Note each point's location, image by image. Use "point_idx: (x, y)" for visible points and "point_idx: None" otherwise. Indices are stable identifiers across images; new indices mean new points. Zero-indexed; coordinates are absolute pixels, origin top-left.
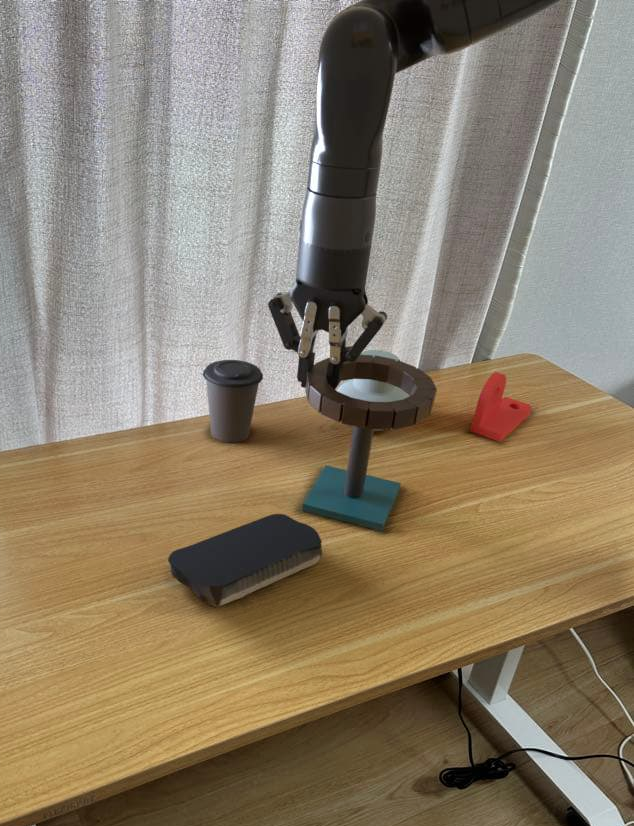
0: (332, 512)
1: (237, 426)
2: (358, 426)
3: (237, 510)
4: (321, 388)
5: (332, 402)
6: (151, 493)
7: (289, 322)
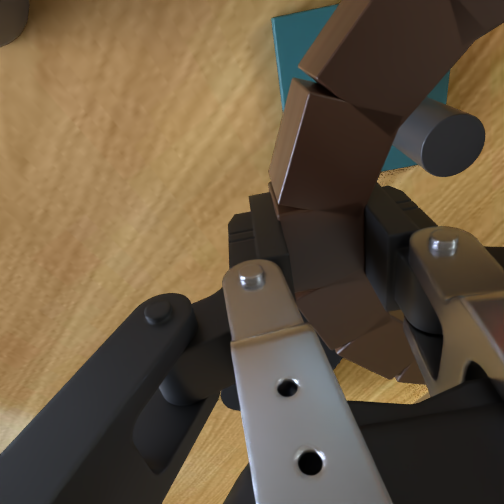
0: None
1: (6, 32)
2: None
3: (203, 240)
4: (379, 353)
5: None
6: (71, 277)
7: (137, 476)
